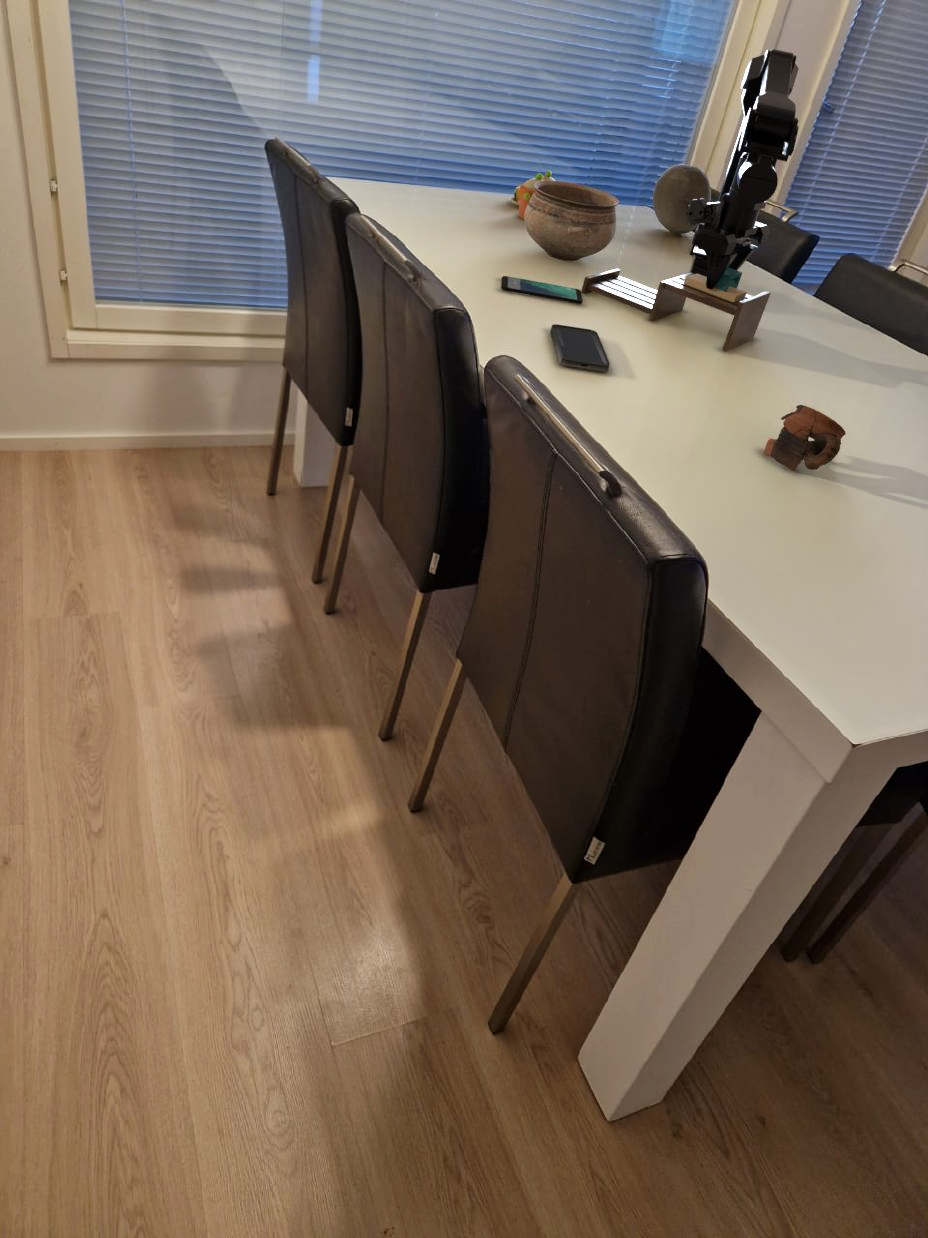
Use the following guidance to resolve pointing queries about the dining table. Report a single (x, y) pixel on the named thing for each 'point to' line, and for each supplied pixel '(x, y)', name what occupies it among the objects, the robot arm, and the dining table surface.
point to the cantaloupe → (679, 196)
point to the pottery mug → (806, 439)
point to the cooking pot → (570, 219)
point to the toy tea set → (527, 192)
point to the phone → (579, 348)
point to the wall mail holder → (720, 285)
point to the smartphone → (541, 289)
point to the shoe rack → (680, 302)
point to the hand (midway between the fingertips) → (715, 286)
